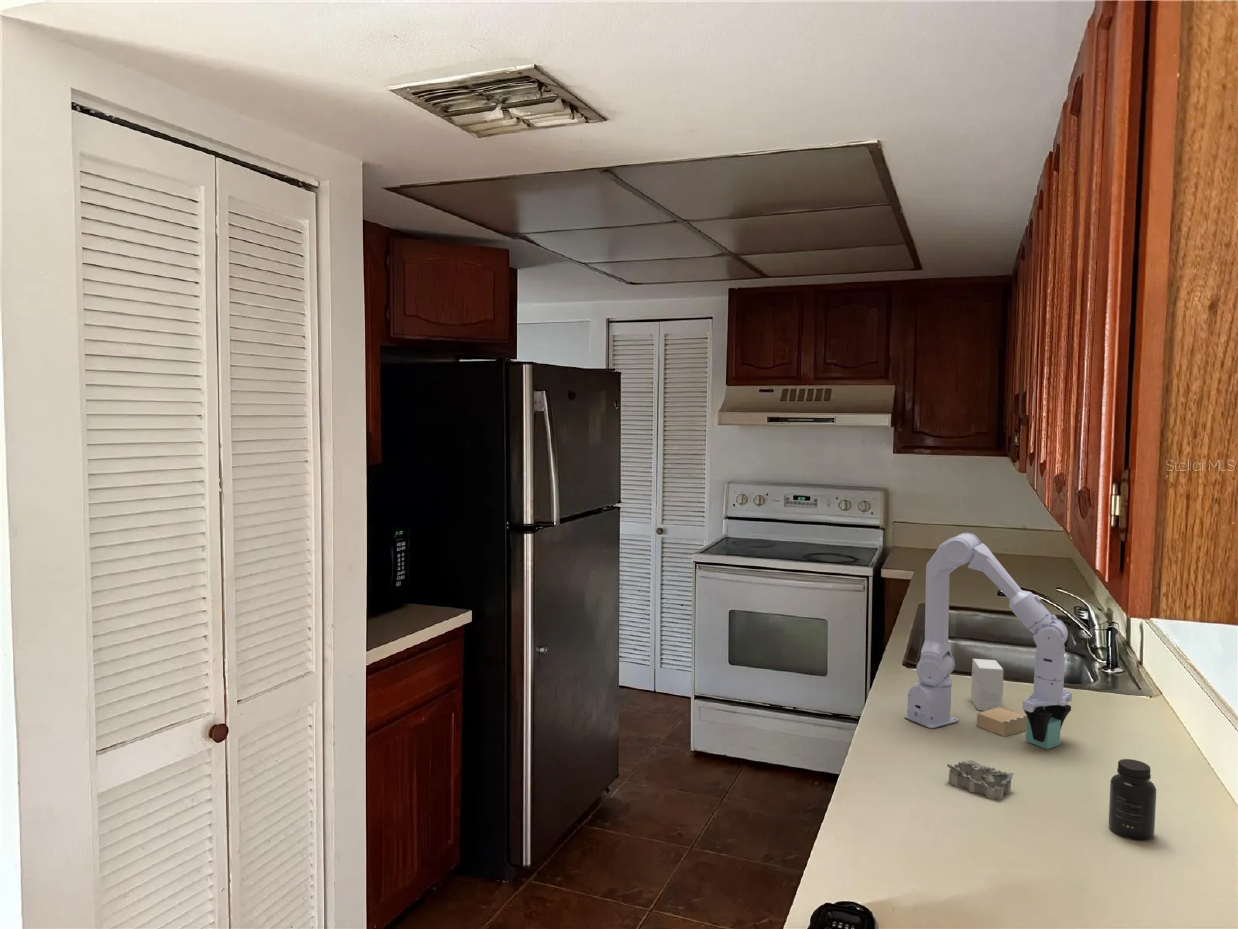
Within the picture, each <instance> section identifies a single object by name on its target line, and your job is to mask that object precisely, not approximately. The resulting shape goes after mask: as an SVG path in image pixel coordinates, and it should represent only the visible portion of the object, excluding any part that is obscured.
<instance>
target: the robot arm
mask: <svg viewBox="0 0 1238 929" xmlns="http://www.w3.org/2000/svg"><path fill="white" fill-rule="evenodd" d="M967 563H969V564H968V566H967V568H968V569H971V570H975V571H979V572H982V573H983V574H985V576H986V577H987V578H989V580H990V581H991V582H992V583H994V584H993V585H995V586H996V587H997V588H998V589H999V590H1000V591H1001V593H1002V594H1004V595H1005V596H1006V597H1007V599H1008V601H1009V609H1010V610H1011V611H1012V612H1013V614H1014V615H1015V616H1016V617H1017V619H1018V620H1019V621H1020V622H1021V623H1022V624H1023V625H1024V626H1025V628H1026V629H1027V630H1028V631H1029V632H1031V633H1032V634H1033V642H1034V644H1035V645H1036V650H1035V655H1034V673H1033V692H1032V694H1031V695H1030V696H1028V697H1027V698H1026V699H1025V700H1023V701H1022V710H1023V712H1024V714H1025V716H1027V717H1028V720H1029V722H1030V726H1031V730H1032V735H1033V739H1034V740H1037V741H1040V742H1044V740H1045V736H1046V730H1047V725H1048V722H1049V720H1050V718H1051V717H1053V718H1055V719H1058V720H1061V728H1060V731H1061V730H1062V727H1063V725H1064V723H1065V722H1064V721H1065V719H1066V717H1067V716H1068V714H1069V713H1070V712H1071V711H1072V706H1071V705H1070V704H1068V703H1070V702H1072V700H1073V699H1072V698H1073V692H1071V691H1068V690H1064V686H1065V684H1064V683H1065V682H1064V681H1065V669H1066V668H1065V666H1066V656H1065V654H1066V650H1065V649H1066V646H1065V643H1066V641H1067V640H1068V635H1069V631H1068V628H1067V626H1066V625H1065V623H1064V621H1063V620H1061V619H1058V618H1057V615H1055V614H1052V613H1050V611H1049V610H1048V609H1047V607H1045V605H1044V604H1043V603H1042V602H1041V600H1042V598H1041V597H1040V596H1039V595H1038V594H1034V593H1033V592H1031V591H1028V590H1022V588H1021V587H1020V586H1019V585H1018V584H1017V582H1016V581H1015V580H1014V579H1013V578H1012V576H1011V575H1010V574H1009V572H1008V571H1007V570H1006V568H1004V567H1003V565H1002V564H1001V563H1000V561H999V560H998V559H997V558H996V557H995V555H994V554H993V553H992V551H991V550H990V548H989V547H988V546H987V545H986V544H985V543H983V542H982V543H981V540H980V539H979V537H977V535H975V534H973V533H972V532H971V533H970V532H962V533H959V534H958V535H956V536H954V537H950V538H948V539H947V540H945V541H943V542H942V543H941V544H939V546H938V548H937V549H936V551H935V553H933V555H932V556H931V558H930V559H929V561H927V563H926V566H925V604H924V605H925V609H924V610H925V611H924V613H925V614H924V615H925V616H924V642H923V645H922V648H921V650H920V659H919V660H918V663H917V664H916V668H915V669H916V670H915V671H916V674H917V677H918V680H917V683H916V684H915V685H912V687H910V689H909V690H908V694H907V710H906V714H905V715H903V717H904V718H905V719H908V720H910V721H912V722H914V723H917V724H919V725H922V726H924V727H927V728H929V729H935V728H939V727H942V726H947V725H951V724H954V723H958V722H959V718H956V717H955V716H954V717H953V716H951V709H952V708H951V706H952V705H951V704H952V679H951V676H950V674H952V673H953V671H954V670H955V666H956V663H955V662H956V661H955V659H954V656H953V655H952V651H951V650H952V646H951V643H950V641H949V623H950V622H949V618H950V615H949V614H950V606H949V605H950V574H951V573H952V572H953V571H955V570H956V569H957V568H958V567H961V566H965V564H967Z"/></svg>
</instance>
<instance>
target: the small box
mask: <svg viewBox="0 0 1238 929" xmlns="http://www.w3.org/2000/svg"><path fill="white" fill-rule="evenodd" d="M971 664H972V666H971V691H970V692H971V693H970V700H971V701H972V703H973V705H974V706H975V708H976V709H977V711H981V712H984V711H988V710H991V709H995V708H999V707H1000V708H1003V697H1004V696H1003V692H1004V668H1003V667H1002V666H1001V664H999V662H998V661H997V660H995V659H984V658H983V659H982V658H972V663H971Z"/></svg>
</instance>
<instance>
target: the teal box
mask: <svg viewBox="0 0 1238 929" xmlns="http://www.w3.org/2000/svg"><path fill="white" fill-rule="evenodd" d="M1060 728H1061V729H1062V727H1061V720H1058V719H1055V718H1053V717H1051V718H1050V720H1049V722H1048V725H1047V730H1046V736H1045V740H1044V742H1040V741H1037V740H1034V739H1033V735H1032V730H1031V726H1030V722H1029V720H1028V717H1027V725H1026V730H1025V742H1026V743H1027V742H1028V743H1031V744H1033V745H1036V746H1038V747H1040V748H1043V749H1046V750H1050V749H1051V748H1052V749H1053V748H1055V747H1059V746H1060V742H1061V730H1060Z"/></svg>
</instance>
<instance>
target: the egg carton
mask: <svg viewBox="0 0 1238 929" xmlns="http://www.w3.org/2000/svg"><path fill="white" fill-rule="evenodd" d="M946 767H947V768H948V769H949V771H948V772H949V774H948V782H949V781H950V782H949V783H951V785H952V786H953V785H954V787H956V786H958V787H962V788H966V789H968V792H970V791H972V792H971V793H974V792H976V793H980V794H984V795H986V798H988V799H991V800H994V799H998V800H1002V799H1004V794H1010V793H1011V792H1012V790H1011V787H1012V785H1011V784H1012V780H1013V776H1014V772H1006V771H1003V772H1002V771H1001V770H1000V769H999V770H997V769H996V768H995V767H990V766H987V765H982V764H980V763H978V762H976V761H975V760H973V759H972V760H971V759H966V760H962V761H959V762H958V763H957V764H956V763H955V764H954V766H953V765H952V764H951V763H947V764H946ZM971 777H972V778H971Z"/></svg>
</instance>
